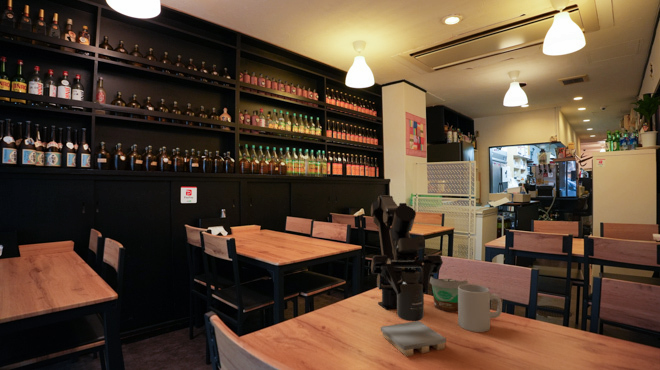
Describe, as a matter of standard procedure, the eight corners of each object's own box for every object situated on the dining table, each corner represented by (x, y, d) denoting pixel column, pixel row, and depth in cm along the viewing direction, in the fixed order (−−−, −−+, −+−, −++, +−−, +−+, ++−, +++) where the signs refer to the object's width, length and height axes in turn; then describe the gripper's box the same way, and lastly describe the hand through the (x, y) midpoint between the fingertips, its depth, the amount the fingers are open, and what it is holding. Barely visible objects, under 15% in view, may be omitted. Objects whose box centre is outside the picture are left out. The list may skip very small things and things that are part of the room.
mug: (463, 331, 93) (462, 292, 93) (454, 319, 102) (454, 283, 102) (508, 333, 92) (507, 293, 92) (495, 321, 101) (495, 284, 101)
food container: (428, 310, 110) (427, 280, 110) (430, 304, 115) (429, 275, 115) (468, 315, 105) (468, 283, 105) (468, 309, 111) (468, 278, 111)
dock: (380, 336, 91) (380, 326, 91) (418, 329, 95) (418, 320, 95) (404, 356, 80) (404, 346, 80) (446, 348, 84) (446, 338, 84)
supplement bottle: (419, 324, 83) (418, 275, 83) (393, 318, 87) (392, 272, 87) (427, 315, 89) (426, 269, 89) (402, 309, 92) (402, 266, 92)
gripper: (372, 226, 91) (379, 277, 80) (439, 225, 92) (456, 276, 81) (368, 249, 99) (374, 299, 88) (430, 248, 100) (444, 298, 89)
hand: (411, 293), depth 86 cm, fingers closed on supplement bottle, 7 cm apart
